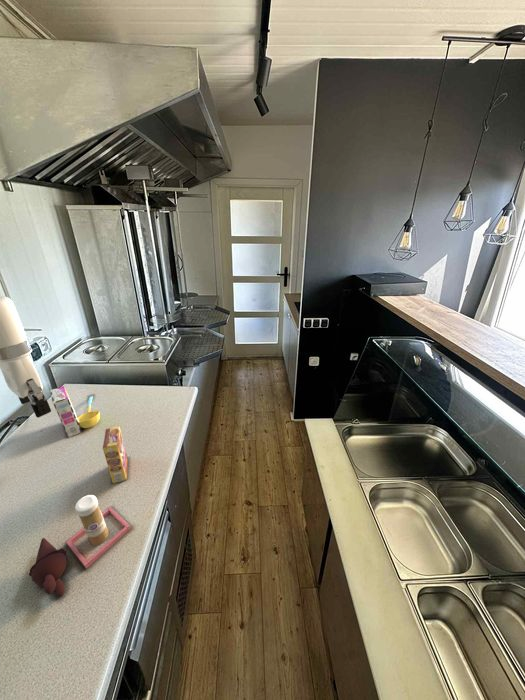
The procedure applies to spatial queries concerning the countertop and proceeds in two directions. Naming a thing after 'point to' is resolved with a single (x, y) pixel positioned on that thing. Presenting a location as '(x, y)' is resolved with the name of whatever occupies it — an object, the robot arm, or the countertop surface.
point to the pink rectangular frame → (106, 546)
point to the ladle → (89, 417)
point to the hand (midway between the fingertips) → (36, 407)
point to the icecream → (49, 568)
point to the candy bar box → (65, 411)
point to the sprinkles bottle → (92, 519)
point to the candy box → (115, 454)
